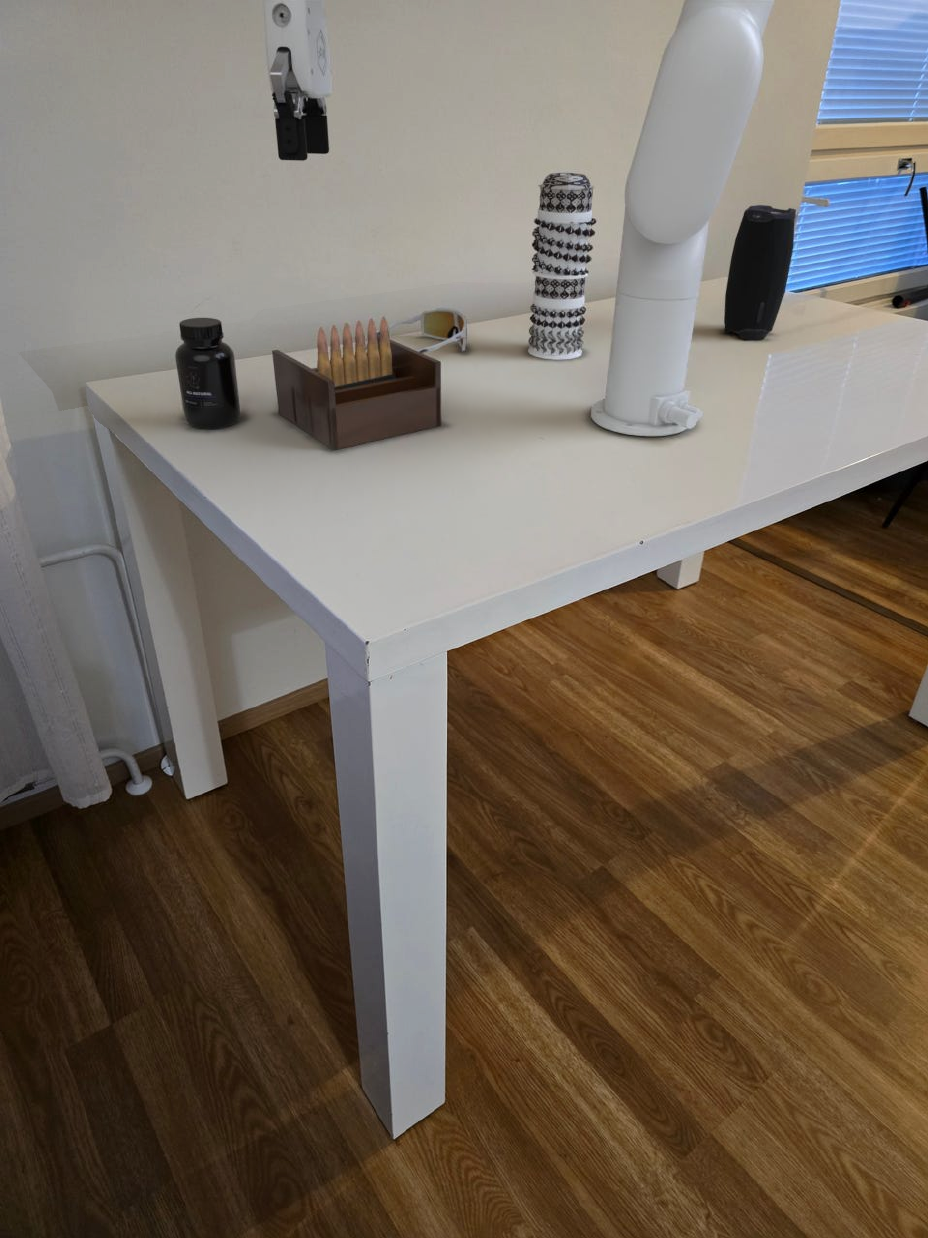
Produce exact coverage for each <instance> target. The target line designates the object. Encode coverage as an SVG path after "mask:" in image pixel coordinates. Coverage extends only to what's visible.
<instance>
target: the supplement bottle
mask: <svg viewBox="0 0 928 1238" xmlns="http://www.w3.org/2000/svg"><path fill="white" fill-rule="evenodd" d="M179 332H180V335H179V336H180V340H181V341H182V342H183V343H181V344H180V345H179V346H178V347H177V349H176V350H175V353H174V354H175V355H174V358H175V365H176V371H177V378H178V385H179V391H180V398H181V405H182V410H183V417H184V420H185V422H186V423H187V424H188V425H189V426H191V427H192V428H196V429H202V430H215V429H217V430H218V429H222V428H228V427H231V426H233V425H236V424H237V423H238V422H239V420H240V419H241V417H242V416H241V404H240V395H239V386H238V377H237V369H236V361H235V354H234V353H235V352H234V350H233V349H232V347H231V346H230V345H229V344H227V343H226V342H225V341H223V339H224V332H223V325H222V321H221V320H219V319H217V318H214V317H191V318H187V319H182V320H181V321H180V322H179Z"/></svg>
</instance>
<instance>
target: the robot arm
mask: <svg viewBox="0 0 928 1238" xmlns="http://www.w3.org/2000/svg"><path fill="white" fill-rule="evenodd" d="M774 3H775V0H684V1H683V5H682V7H681V11H680V15H679V18H678V20H677V21H678V22H677V24H676V26H675V30H674V32H673V34H672V35H671V37H670V38H669V40H668V42H667V44H666V46H665V48H664V51H663V54H662V56H661V61H660V64H659V68H658V71H657V75H656V79H655V81H654V85H653V88H652V89H653V90H652V93H651V96H650V100H649V103H648V105H647V110H646V114H645V117H644V121H643V124H642V127H641V131H640V135H639V137H638V141H637V145H636V149H635V152H634V155H633V158H632V162H631V165H630V168H629V171H628V174H627V177H626V182H625V187H624V214H623V224H622V225H623V226H622V235H621V243H620V244H621V245H620V255H619V262H618V263H619V264H618V274H617V281H616V290H615V291H616V292H615V301H614V309H613V319H612V329H611V336H610V337H611V339H610V349H609V357H608V358H609V359H608V366H607V376H606V386H605V395H604V398H603V399H600V400H598V401H596V402H595V403H594V404H593V405H592V406H591V411H590V418H591V419H592V421H593V422H594V423H595V424H596V425H598V426H600V427H601V428H603V429H605V430H608V431H612V432H615V433H619V434H623V435H629V436H637V437H663V436H672V435H676V434H679V433H682V432H684V431H686V430H692V429H693V428H695V426H696V425H697V422H698V421H699V420H700V419H701V418H702V417H703V415H704V414H703V413H704V410H703V409H702V408H700V407H698V406H695V405H690V403H689V402H690V396H691V391H690V390H687V389H685V384H686V379H687V370H688V364H689V358H690V351H691V346H692V339H693V333H694V325H695V319H696V313H697V307H698V300H699V295H700V290H701V283H702V277H703V271H704V262H705V257H706V249H707V242H708V235H709V227H710V219H711V218H712V216H713V215H714V213H715V211H716V209H717V207H718V204H719V202H720V200H721V197H722V194H723V192H724V189H725V186H726V183H727V181H728V178H729V175H730V173H731V170H732V167H733V164H734V161H735V158H736V155H737V153H738V150H739V147H740V144H741V142H742V138H743V136H744V133H745V130H746V127H747V123H748V122H749V119H750V115H751V112H752V109H753V107H754V103H755V102H756V98H757V95H758V93H759V92H758V91H759V88H760V84H761V80H762V76H763V70H764V63H765V62H764V61H765V54H764V52H765V51H764V46H763V37H764V34H765V32H766V28H767V25H768V21H769V19H770V15H771V13H772V10H773V7H774ZM326 15H327V14H326V9H325V4H324V0H263V21H264V22H263V23H264V34H265V35H264V37H265V38H264V39H265V40H264V41H265V52H266V65H267V73H268V80H269V87H270V90H271V92H272V93H271V97H272V98H271V99H272V100H273V102H274V104H273V116H274V122H275V124H274V125H275V134H276V144H277V153H278V154H277V155H278V159H279V160H281V161H297V162H298V161H301V162H302V161H303V162H304V161H306V160H307V159H308V156H309V154H314V155H316V154H317V155H326V154H328V153H329V152H330V143H329V141H330V140H329V127H328V126H329V125H328V115H327V113H328V112H327V109H328V108H327V103H326V100H325V98H329V97H330V96H331V95H332V93H333V92H334V85H333V84H334V83H333V73H332V62H331V51H330V43H329V33H328V24H327V17H326Z"/></svg>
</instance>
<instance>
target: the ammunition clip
mask: <svg viewBox="0 0 928 1238" xmlns="http://www.w3.org/2000/svg"><path fill="white" fill-rule="evenodd" d="M379 325H380V326H379V330H380V346H379V350H378V342H377V327H376V324H375V321H374V319H373V318H370V319H369V322H368V326H367V342H368V343H367V342H366V339H365V338H366V336H365V331H364V328H363V324H362V322H361V320H358V321H357V322H356V326H355V333H354V343H353V337H352V330H351V327H350V325H349V323H348V322H345V324H344V326H343V332H342V348H341V341H340V335H339V331H338V329H337V327H336V325H335V324H333V325H332V326H331V330H330V338H329V341H330V342H329V343H330V344H329V345H328V341H327V337H326V334H325V331H324V329H323V327H322V326H321V327H319V330H318V333H317V344H316V345H317V365H316V368H317V370H318V372H319V373H320V374H322V375H324V376H326V377H328V378H329V379H331V380H333V381H334V387H335V390H339V389H344V388H349V387H355V386H360V385H365V384H371V383H376V382H381V381H386V380H392V379H395V375H394V374H392V353H391V348H390V340H389V339H390V331H389V330H388V326H389V324H388V321H387V318H386V317H385V316H382V317H381V320H380V324H379ZM366 343H367V348H366V345H365V344H366ZM354 344H355V345H354ZM328 346H330V347H328ZM329 348H330V349H329ZM329 351H330V352H329Z"/></svg>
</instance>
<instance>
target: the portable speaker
mask: <svg viewBox="0 0 928 1238" xmlns="http://www.w3.org/2000/svg"><path fill="white" fill-rule="evenodd" d="M796 212H797V209H795V208H790V207H789V208H788V209H781V208H775V207H773V206H771V205H765V204H756V205H750V206H748V208H746V209H745V210H744V212H743V215H742V219H741V221H740V224H739V227H738V230H737V233H736V236H735V239H734V243H733V248H732V252H731V256H730V263H729V268H728V275H727V281H726V286H725V287H726V288H725V292H724V293H725V294H724V317H723V324H724V328H723V334H725V335H727V334H729V333H730V332H732V333H735V334H738V336H739V338H740V339H742V340H746V341H758V340H760V341H761V340H764V339H765V338H766V336H767V335H768V334H769V333H771V332H772V331H773V330H774V326H775V323H776V320H777V318H778V314H779V312H780V310H781V306H782V303H783V301H784V297H785V293H786V290H787V289H786V288H787V283H788V278H789V272H790V268H791V263H792V262H791V261H792V257H793V251H794V242H795V241H794V239H795V220H796V219H797V218H796V217H797V213H796Z"/></svg>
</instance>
